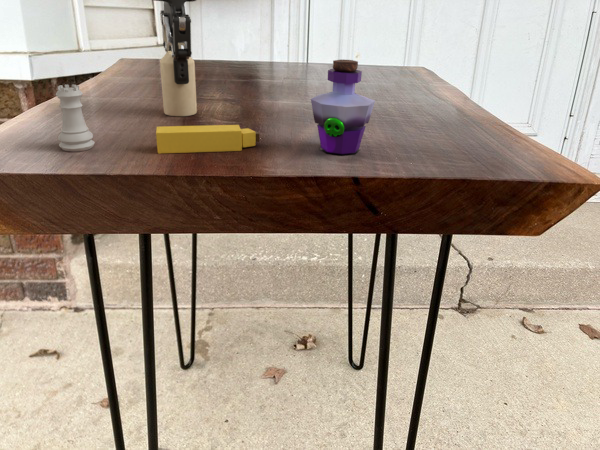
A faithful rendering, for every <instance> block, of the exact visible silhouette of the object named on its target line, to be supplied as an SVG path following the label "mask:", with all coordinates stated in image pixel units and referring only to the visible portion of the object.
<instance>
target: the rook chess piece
mask: <svg viewBox="0 0 600 450" xmlns="http://www.w3.org/2000/svg"><path fill="white" fill-rule="evenodd" d="M63 85H64V86H63ZM63 85H61V84H60V85H58V86H57V91H56V93H55V96H56V97H57V99H59V101H60V104H59V108H60V110H61V113H62V114H61V121H62V123H61V129H60V133H59V134H58V137H57V139H58V141H60V142H59V144H58V146H59V148H60V149H61V150H63V151H65V152H70V153H71V152H74V153H75V152H77V153H78V152H83V151H88V150H90V149H92V148H93V147H94V145H95V143H96V142H95V141H94V140H92V139H93V138H94V134H93V132H91V130H89V129H90V128H89V127H88V126H87V124H86V121H85V117H84V114H83V106H84V105H83V104H82V102H81V98H82V96H83V95H84V93H83V92H82V90H81V89H80V85H78V84H71V87H70V85H69V84H63Z"/></svg>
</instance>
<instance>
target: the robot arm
mask: <svg viewBox="0 0 600 450" xmlns="http://www.w3.org/2000/svg"><path fill="white" fill-rule="evenodd" d="M153 1H154V2H163V9H161V10H160V12H159V18H160V19H159V20H160V23H161V36H162V46H163V49H164V51H165V54H166V53H167V52H168V51H172V57H173V67H174V81H175V83H176V84H188V83H189V72H188V60H187V59H189V57H191V58H192V55H193V52H192V34H191V33H192V32H191V31H192V29H191V27H192V26H191V23H192V19H191V16H190V14H188V13H187V14H186V7H185V3H186V2H187V3H188V2H189V3H190V2H192V3H193V2H197V0H153ZM182 46H183V48H182Z"/></svg>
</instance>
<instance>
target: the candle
mask: <svg viewBox="0 0 600 450" xmlns="http://www.w3.org/2000/svg"><path fill="white" fill-rule="evenodd" d="M187 60H188V72H189V83H188V84H176V83H175V81H174V67H173V57H172V51H168V52H167V53H166V52H165V54H164V55H163V56H162V57H161V59H160V60H159V67H160V68H159V69H160V81H161V93H162V105H163V114H165V115H167V116H170V117H189V116H193V115H196V114H197V112H198V105H197V104H198V103H197V83H196V65H195V64H196V63H195V60H194V59H193V57H192V56H191V57H189V59H187Z"/></svg>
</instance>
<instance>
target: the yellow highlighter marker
mask: <svg viewBox="0 0 600 450" xmlns="http://www.w3.org/2000/svg"><path fill="white" fill-rule="evenodd" d="M155 139H156V148H157V154H160V155H161V154H187V153H190V154H191V153H218V152H242V151H243V148H251V147H256V143H260V132H259V131H255V130H252V129H251V128H249V127H245V128H241V127H240V124H211V125H209V124H208V125H172V126H171V125H170V126H169V125H168V126H156V130H155Z"/></svg>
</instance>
